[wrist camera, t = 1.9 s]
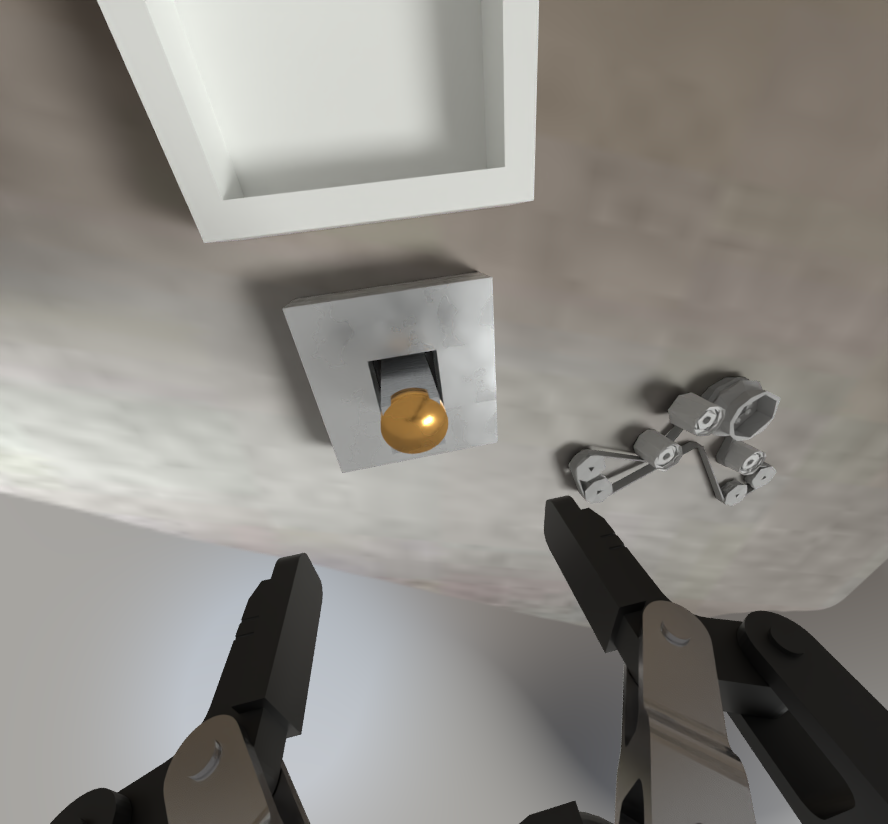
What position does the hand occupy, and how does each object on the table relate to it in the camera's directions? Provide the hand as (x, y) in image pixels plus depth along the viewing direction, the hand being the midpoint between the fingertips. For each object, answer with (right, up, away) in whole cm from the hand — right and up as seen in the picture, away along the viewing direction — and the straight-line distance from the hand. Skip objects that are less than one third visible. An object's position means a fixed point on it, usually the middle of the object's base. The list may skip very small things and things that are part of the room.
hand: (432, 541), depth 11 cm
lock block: (-2, +7, +13) cm, 15 cm away
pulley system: (+26, +2, +23) cm, 35 cm away
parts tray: (-4, +21, +5) cm, 22 cm away
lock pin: (-2, +7, +13) cm, 15 cm away
